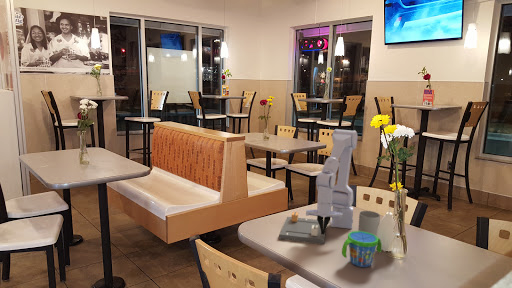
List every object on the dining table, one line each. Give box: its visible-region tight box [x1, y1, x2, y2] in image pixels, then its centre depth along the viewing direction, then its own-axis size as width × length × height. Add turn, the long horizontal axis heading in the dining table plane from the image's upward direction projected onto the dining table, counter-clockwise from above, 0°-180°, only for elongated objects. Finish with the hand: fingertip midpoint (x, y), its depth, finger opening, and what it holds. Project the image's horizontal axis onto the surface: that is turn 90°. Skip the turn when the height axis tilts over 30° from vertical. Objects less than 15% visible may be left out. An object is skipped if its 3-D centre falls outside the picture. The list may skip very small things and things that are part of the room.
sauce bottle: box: [377, 206, 396, 252], centre depth 139 cm, size 8×8×18 cm
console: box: [279, 216, 326, 245], centre depth 157 cm, size 18×21×2 cm
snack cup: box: [341, 230, 383, 268], centre depth 129 cm, size 16×10×10 cm
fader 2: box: [311, 225, 318, 236], centre depth 149 cm, size 2×4×3 cm, turn 166°
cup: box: [357, 210, 381, 236], centre depth 152 cm, size 8×8×10 cm
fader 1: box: [291, 211, 299, 222], centre depth 164 cm, size 2×4×3 cm, turn 166°
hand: (322, 233), depth 148 cm, fingers closed
